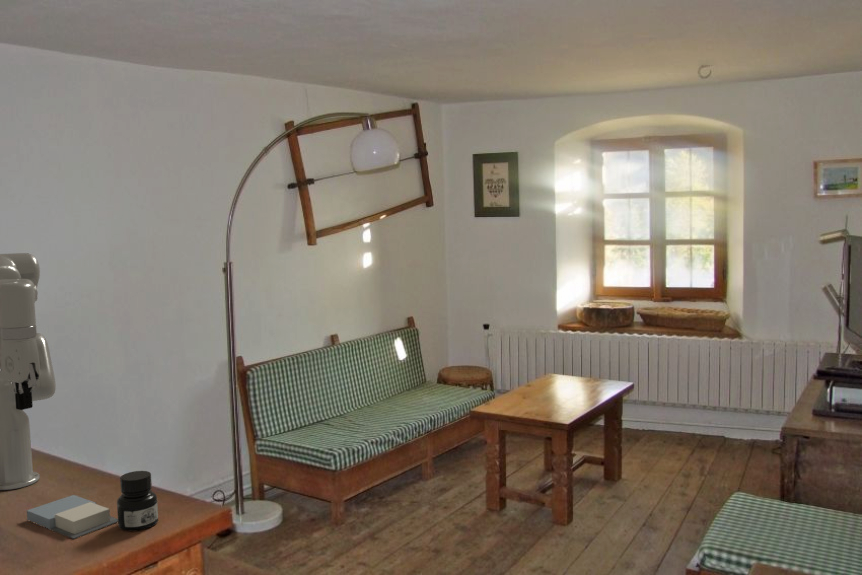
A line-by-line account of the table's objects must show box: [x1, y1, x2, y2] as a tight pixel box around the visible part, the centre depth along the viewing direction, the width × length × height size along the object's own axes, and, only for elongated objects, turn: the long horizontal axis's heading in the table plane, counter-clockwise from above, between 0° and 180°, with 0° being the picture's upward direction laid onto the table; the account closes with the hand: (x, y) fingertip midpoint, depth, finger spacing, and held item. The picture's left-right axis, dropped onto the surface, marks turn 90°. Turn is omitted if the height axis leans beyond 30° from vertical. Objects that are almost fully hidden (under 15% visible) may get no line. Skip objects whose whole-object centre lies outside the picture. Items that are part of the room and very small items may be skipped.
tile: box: [55, 502, 111, 534], centre depth 183 cm, size 8×9×3 cm
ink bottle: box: [116, 470, 159, 532], centre depth 182 cm, size 10×9×12 cm
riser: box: [26, 494, 97, 530], centre depth 188 cm, size 10×12×2 cm
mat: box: [50, 515, 118, 540], centre depth 183 cm, size 10×12×1 cm
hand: (24, 408), depth 186 cm, fingers closed
